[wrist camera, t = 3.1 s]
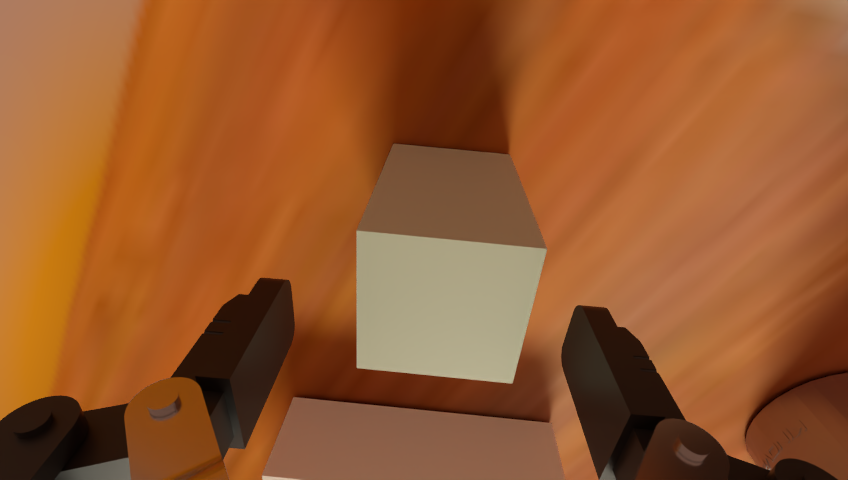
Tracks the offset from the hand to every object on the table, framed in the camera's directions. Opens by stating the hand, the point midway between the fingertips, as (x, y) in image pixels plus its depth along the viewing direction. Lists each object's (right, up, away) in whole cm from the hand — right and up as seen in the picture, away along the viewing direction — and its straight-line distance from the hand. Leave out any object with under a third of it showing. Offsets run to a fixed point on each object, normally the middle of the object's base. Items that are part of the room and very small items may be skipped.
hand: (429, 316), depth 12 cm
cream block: (+1, +4, +7) cm, 8 cm away
